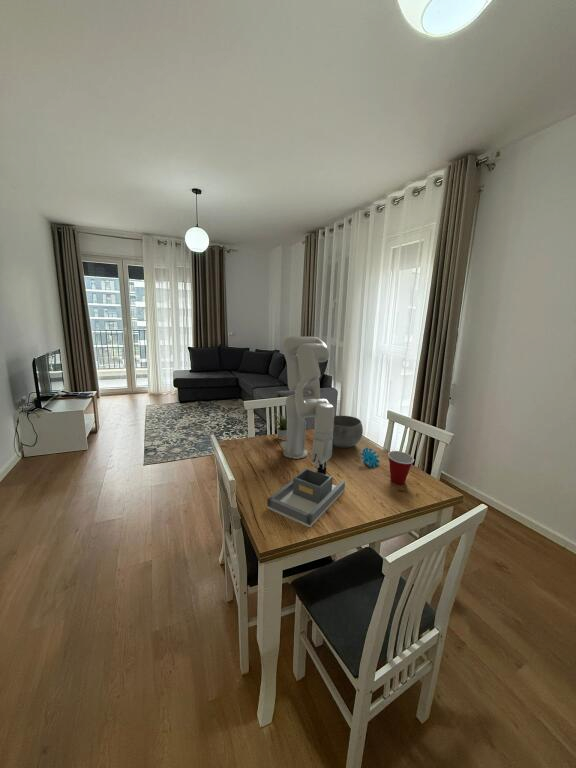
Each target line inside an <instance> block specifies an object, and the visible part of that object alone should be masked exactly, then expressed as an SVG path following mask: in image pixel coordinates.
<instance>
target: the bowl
mask: <svg viewBox="0 0 576 768" xmlns="http://www.w3.org/2000/svg"><path fill="white" fill-rule="evenodd" d="M363 430H364V429H363V424H362V421H361V420H360V419H359V418H358V417H355V416H351V415H334V427H333V439H332V446H335V447H337V448H343V449H344V448H351V447H354V446H355V445H357V444H359V442H360V440H361V439H362V437H363V433H364V431H363Z"/></svg>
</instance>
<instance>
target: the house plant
mask: <svg viewBox="0 0 576 768" xmlns="http://www.w3.org/2000/svg"><path fill="white" fill-rule="evenodd" d="M271 413H273V414H274V415H276V416H272V418H276V420H275V421H274V423H273V424H275V427H277V428H276V429H277V436H278V437H279V438H282V439H286V438H287V414H286V412H284V414H283V416H282V415H281V413H280V412H278V415H279V416H278V415H277V413H274V412H271ZM285 414H286V415H285ZM279 438H278V439H279Z"/></svg>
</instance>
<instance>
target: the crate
mask: <svg viewBox="0 0 576 768" xmlns="http://www.w3.org/2000/svg"><path fill="white" fill-rule="evenodd" d="M292 480H293V494H295V495H298V496H300V497H303V498H305V499H308V500H310V501H313V502H315V503H318V504H319V503H320V502H321V501H322V500H323V499H324V498H325V497H326V496H327V495H328V494H329V493H330V492H331V491H332V484H333V476H331V475H328V474H327V473H326V474H323V473H320V472H317V471H316V470H314V469H310V468H307V467H306V468H304V469H303V470H302V471H300V472H299V473H298V474H297V475H295V476H294V477H293V478H292Z"/></svg>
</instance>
